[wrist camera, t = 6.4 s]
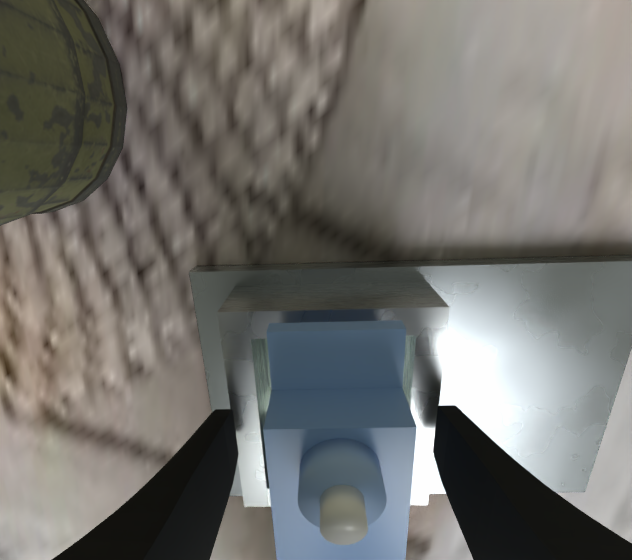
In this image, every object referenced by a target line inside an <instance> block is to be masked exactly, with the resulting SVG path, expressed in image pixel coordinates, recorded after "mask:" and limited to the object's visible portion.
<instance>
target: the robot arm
mask: <svg viewBox="0 0 632 560" xmlns="http://www.w3.org/2000/svg"><path fill="white" fill-rule="evenodd" d="M433 454H434V457H435V461H436V465H437V468H438V472H439V475H440V478H441V482H442V484H443V487H444V489H445V492H446V494H447V497H448V499H449V501H450V504H451V506H452V509H453V511H454V514H455V516H456V518H457V521H458V523H459V526H460V528H461V530H462V533H463V535H464V538H465V540H466V542H467V545H468V547H469V550H470V552H471V554H472V557H473V560H632V543H630V542H628V541H627V540H625V539H623V538H622V537H620V536H619V535H617V534H615V533H614V532H612V531H611V530H609V529H608V528H606V527H605V526H603V525H602V524H600V523H599V522H597V521H595V520H594V519H592V518H591V517H589V516H588V515H586V514H585V513H584V512H582V511H581V510H579V509H578V508H576V507H575V506H573V505H572V504H571V503H569V502H568V501H567V500H565V499H564V498H562V497H561V496H560V495H558V494H557V493H556V492H554V491H553V490H552V489H550V488H549V487H548V486H546V485H545V484H544V483H542V482H541V481H540V480H539V479H537V478H536V477H535V476H534V475H532V474H531V473H530V472H529V471H528V470H526V469H525V468H524V467H523V466H521V465H520V464H519V463H518V462H517V461H515V460H514V459H513V458H512V457H511V456H510V455H509V454H507V453H506V452H505V451H504V450H503V449H502V448H501V447H500V446H498V445H497V444H496V443H495V442H494V441H493V440H492V439H491V438H490V437H489V436H487V435H486V434H485V433H484V432H483V431H482V430H481V429H480V428H479V427H478V426H477V425H476V424H475V423H474V422H473V421H472V420H471V419H470V418H468V417H467V416H466V415H465V414H464V413H463V412H462V411H461V410H460V409H459V408H458V407H457V406H456V405H441V406H438V409H437V418H436V427H435V436H434V445H433ZM238 455H239V453H238V445H237V438H236V431H235V424H234V417H233V409H215V410H214V411H213V412H212V413H211V414H210V416H209V417H208V418H207V419H206V420H205V421H204V423H203V424H202V425H201V426H200V427H199V428H198V430H197V431H196V432H195V433H194V434H193V435H192V436H191V438H190V439H189V440H188V441H187V442H186V443H185V444H184V445H183V446H182V448H181V449H180V450H179V451H178V452H177V453H176V454H175V455H174V456H173V457H172V458H171V460H170V461H169V462H168V463H167V464H166V465H165V466H164V467H163V468H162V469H161V470H160V471H159V472H158V473H157V474H156V475H155V476H154V477H153V478H152V479H151V480H150V481H149V482H148V483H147V484H146V485H145V486H143V487H142V488H141V489H140V490H139V491H138V492H137V493H136V494H135V495H134V496H133V497H132V498H130V499H129V500H128V501H127V502H126V503H125V504H124V505H122V506H121V507H120V508H119V509H118V510H117V511H115V512H114V513H113V514H112V515H110V516H109V517H108V518H107V519H105V520H104V521H103V522H102V523H100V524H99V525H98V526H96V527H95V528H94V529H93V530H91V531H90V532H89V533H88V534H86V535H85V536H84V537H83V538H81V539H80V540H79V541H77V542H76V543H74V544H73V545H72V546H70V547H69V548H68V549H66V550H65V551H63V552H62V553H61V554H59V555H58V556H56V557H55V558H53V559H52V560H210V556H211V553H212V550H213V547H214V543H215V540H216V537H217V534H218V531H219V527H220V524H221V521H222V518H223V515H224V511H225V508H226V505H227V502H228V498H229V495H230V492H231V489H232V485H233V481H234V476H235V471H236V466H237V460H238Z"/></svg>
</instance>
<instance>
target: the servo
mask: <svg viewBox="0 0 632 560" xmlns="http://www.w3.org/2000/svg"><path fill="white" fill-rule="evenodd" d="M266 333H267V344H268V355H269V366H270V378H271V389H272V391H271V395H270V400H269V405H268V409H267V414H266V419H265V423H264V428H263V432H264V442H265V452H266V461H267V471H268V480H269V490H270V500H271V509H272V519H273V528H274V538H275V547H276V557H277V560H405V557H406V546H407V535H408V523H409V512H410V500H411V489H412V478H413V466H414V455H415V443H416V432H417V426H416V423H415V421H414V418H413V415H412V412H411V410H410V407H409V404H408V401H407V399H406V396H405V393H404V391H403V388H402V387H403V372H404V356H405V341H406V327H405V325H404V323H403V322H402V320H391V321H346V322H301V323H269V325H268V329H267V332H266Z"/></svg>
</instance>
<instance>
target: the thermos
mask: <svg viewBox="0 0 632 560" xmlns="http://www.w3.org/2000/svg"><path fill="white" fill-rule="evenodd" d="M126 113H127V105H126V100H125V94H124V88H123V83H122V77H121V71H120V66H119V63H118V60H117V58H116V56H115V54H114V52H113V49H112V47H111V45H110V43H109V41H108V38H107V36H106V34H105V32H104V30H103V27H102V25H101V23H100V21H99V19H98V18H97V16H96V15H95V14H94V13H93V11H92V10H91V9H90V8H89V6H88V5H87V4H86V3H85V1H84V0H0V225H3V224H6V223H8V222H11V221H14V220H16V219H19V218H22V217H24V216H27V215H30V214H42V213H48V212H53V211H56V210H59V209H62V208H64V207H67V206H70V205H73V204H75V203H78V202H81V201H83V200H85V199H86V198H87V197H88V196H89V195H90V194H91V193H92V192H94V191H95V190H96V189H97V188H98V187H99V186H100V185H101V184H102V183H103V182H104V181H106V180H107V179H108V177H109V175H110V173H111V171H112V168H113V166H114V164H115V162H116V160H117V158H118V156H119V154H120V152H121V150H122V148H123V140H124V131H125V122H126Z"/></svg>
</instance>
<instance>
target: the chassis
mask: <svg viewBox="0 0 632 560" xmlns="http://www.w3.org/2000/svg"><path fill="white" fill-rule="evenodd" d="M189 275H190V281H191V287H192V293H193V299H194V305H195V311H196V318H197V324H198V330H199V336H200V342H201V348H202V354H203V360H204V366H205V372H206V379H207V385H208V391H209V397H210V403H211V409H212V412H213V411H214V410H215V409H233V417H234V424H235V431H236V438H237V445H238V453H239V455H238V460H237V466H236V471H235V476H234V481H233V485H232V489H231V492H230V495H229V496H243V501H244V507H271V500H270V490H269V480H268V471H267V461H266V452H265V442H264V432H263V428H264V423H265V419H266V414H267V409H268V405H269V400H270V395H271V391H272V389H271V378H270V366H269V355H268V344H267V333H266V332H267V329H268V325H269V323H301V322H346V321H391V320H402V322H403V323H404V325H405V327H406V341H405V356H404V372H403V387H402V388H403V391H404V393H405V396H406V399H407V401H408V404H409V407H410V410H411V412H412V415H413V418H414V421H415V423H416V426H417V432H416V443H415V455H414V466H413V478H412V489H411V500H410V505H428V497H429V494H446V492H445V489H444V487H443V484H442V482H441V478H440V475H439V472H438V468H437V465H436V461H435V457H434V454H433V445H434V436H435V427H436V418H437V409H438V406H441V405H456V406H457V407H458V408H459V409H460V410H461V411H462V412H463V413H464V414H465V415H466V416H467V417H468V418H470V419H471V420H472V421H473V422H474V423H475V424H476V425H477V426H478V427H479V428H480V429H481V430H482V431H483V432H484V433H485V434H486V435H487V436H489V437H490V438H491V439H492V440H493V441H494V442H495V443H496V444H497V445H498V446H500V447H501V448H502V449H503V450H504V451H505V452H506V453H507V454H509V455H510V456H511V457H512V458H513V459H514V460H515V461H517V462H518V463H519V464H520V465H521V466H523V467H524V468H525V469H526V470H528V471H529V472H530V473H531V474H532V475H534V476H535V477H536V478H537V479H539V480H540V481H541V482H542V483H544V484H545V485H546V486H548V487H549V488H550V489H552V490H553V491H554V492H585V490H586V487H587V484H588V481H589V478H590V475H591V472H592V469H593V466H594V463H595V459H596V456H597V453H598V450H599V447H600V444H601V441H602V438H603V435H604V432H605V429H606V425H607V422H608V419H609V416H610V413H611V410H612V407H613V404H614V401H615V398H616V395H617V391H618V388H619V385H620V382H621V379H622V376H623V373H624V370H625V367H626V364H627V361H628V357H629V354H630V351H631V348H632V255H616V256H577V257H538V258H499V259H460V260H421V261H382V262H343V263H304V264H265V265H226V266H196V267H195V268H194V269H192V270H191V271H190V272H189Z"/></svg>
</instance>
